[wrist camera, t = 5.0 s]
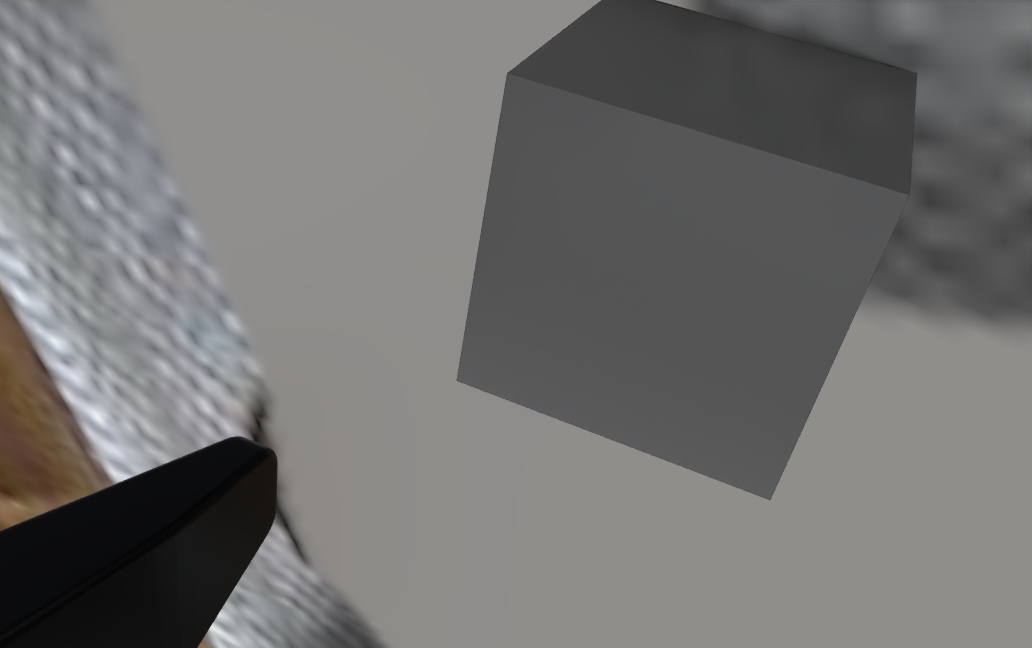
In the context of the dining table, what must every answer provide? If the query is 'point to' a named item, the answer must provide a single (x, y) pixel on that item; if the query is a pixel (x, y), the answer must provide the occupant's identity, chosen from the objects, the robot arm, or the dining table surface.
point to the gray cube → (684, 232)
